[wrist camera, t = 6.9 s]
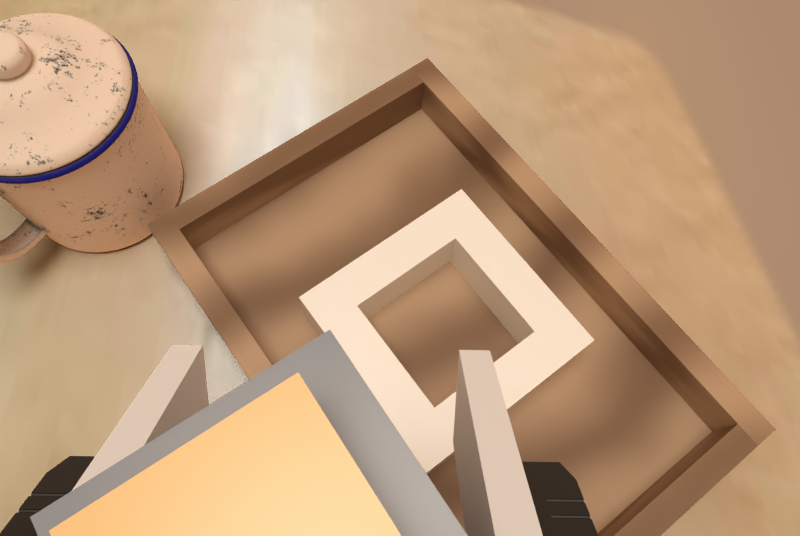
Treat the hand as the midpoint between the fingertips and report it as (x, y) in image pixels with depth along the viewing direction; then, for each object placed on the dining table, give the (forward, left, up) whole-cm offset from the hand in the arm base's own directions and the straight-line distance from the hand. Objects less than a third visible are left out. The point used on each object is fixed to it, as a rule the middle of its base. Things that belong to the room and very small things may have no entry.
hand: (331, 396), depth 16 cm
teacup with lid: (-20, -4, -17) cm, 27 cm away
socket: (-2, +7, -17) cm, 18 cm away
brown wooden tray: (-2, +7, -17) cm, 18 cm away
